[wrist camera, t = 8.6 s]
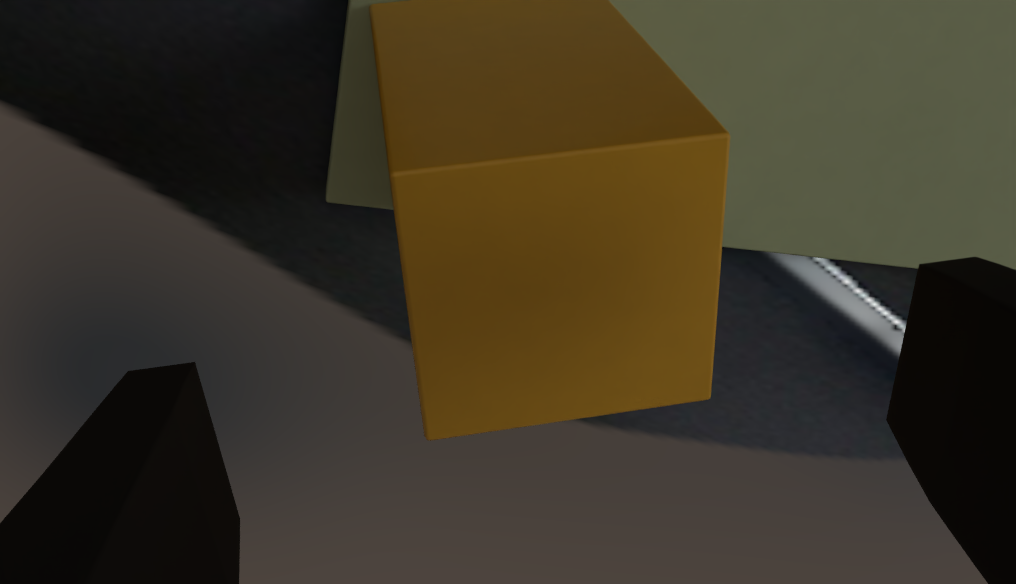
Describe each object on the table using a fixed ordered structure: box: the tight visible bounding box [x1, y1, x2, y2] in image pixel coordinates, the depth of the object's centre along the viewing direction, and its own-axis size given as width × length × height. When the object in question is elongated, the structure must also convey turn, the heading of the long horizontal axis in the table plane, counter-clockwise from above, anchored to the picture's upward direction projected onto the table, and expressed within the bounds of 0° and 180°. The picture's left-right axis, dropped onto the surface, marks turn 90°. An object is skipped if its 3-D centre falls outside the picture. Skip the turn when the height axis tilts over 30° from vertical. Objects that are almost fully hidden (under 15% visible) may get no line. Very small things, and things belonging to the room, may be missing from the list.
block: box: [369, 0, 730, 441], centre depth 15 cm, size 4×4×7 cm
